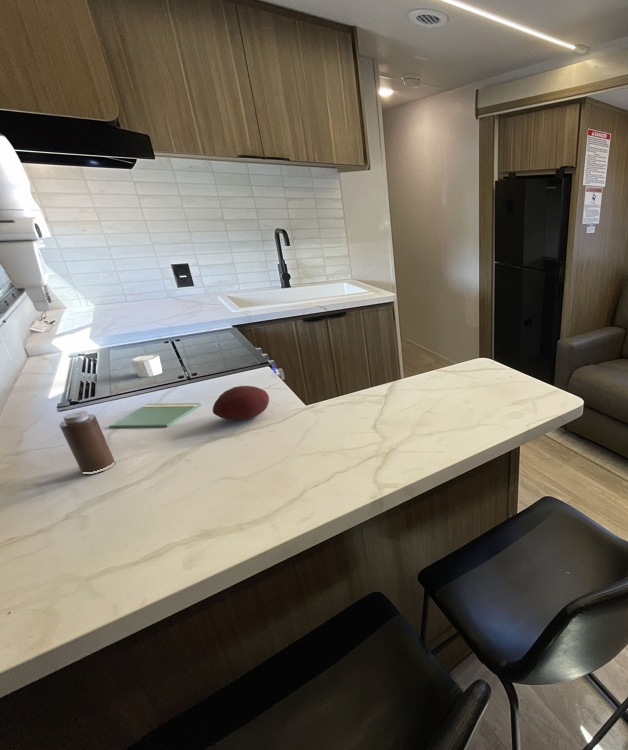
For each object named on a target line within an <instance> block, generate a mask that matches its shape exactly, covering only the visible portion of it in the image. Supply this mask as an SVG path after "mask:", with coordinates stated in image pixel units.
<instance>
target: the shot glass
mask: <svg viewBox="0 0 628 750" xmlns="http://www.w3.org/2000/svg"><path fill="white" fill-rule="evenodd" d="M130 362H131V364H132V367H133V369H134V370H135V372H136V374H137V377H139V378H148V377H155V376H158V375H160V374H162V373H163V369H162V364H161V363H162V362H161V359H160V355H159V354H146V355H140V356H136V357H134V358H131V359H130Z"/></svg>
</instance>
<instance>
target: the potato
mask: <svg viewBox="0 0 628 750" xmlns="http://www.w3.org/2000/svg"><path fill="white" fill-rule="evenodd" d="M269 403H270V396H269V394H268V393H267V391H266V390H264V389H262V388H259V387H257V386H253V385H239V386H233V387H231V388H229V389H227V390H225V391H223V393H221V394H220V395H219V396H218V398H217V399H216V401H215V402H214V403H213V406H212V414H213V415H215V416H217V417H219V418H220V419H225V420H227V421H245V420H249V419H252V418H255V417H257V416H259V415H261V414H262V413H263V412H265V410H266V409H267V408H268V406H269Z"/></svg>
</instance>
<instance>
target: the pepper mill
mask: <svg viewBox="0 0 628 750" xmlns="http://www.w3.org/2000/svg"><path fill="white" fill-rule="evenodd" d="M58 426H59V428H60V430H61V432H62V434H63V436H64V438H65V441H66V442H67V445H68V446H69V448H70V452H71V453H72V455H73V457H74V459H75V461H76V464H77V466H78V467H79V470H80V472H81V471H82V472H93V471H97V470H100V469H103V468H105V467H107V466H109V465H111V464H112V463H113V462H114V461H115V462H116V460H115V458H114V456H113V453H112V451H111V449H110V447H109V444H108V442H107V440H106V438H105V435H104V433H103V431H102V428H101V426H100V423H99V422H98V419H97V417H96V415H95V414H91V413H88V411H85V410H79V411H78V410H77V411H73V412H70V413H68V414H65V415H64V416H63V420H62V421H61V422H60V423H59V425H58ZM82 472H81V473H82Z"/></svg>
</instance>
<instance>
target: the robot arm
mask: <svg viewBox="0 0 628 750" xmlns="http://www.w3.org/2000/svg"><path fill="white" fill-rule="evenodd" d="M50 238H52V235H51V232H50V230H49V227H48V225H47V222H46V219H45V217H44V214H43V211H42V209H41V207H40V206H39V204H38V203H37V202H36V201H35V199H34V198H33V195H32V192H31V182H30V179H29V177H28V175H27V172H26V170H25V168H24V166H23V164H22V162H21V159H20V158H19V156H18V154H17V152H16V150H15V148H14V147H13V145H12V144H11V142H10V141H9V140H8V139H7V137H6V136H5V135H3V134H2V133H0V267H1V268H2V270H3V272H4V274H5V275H6V276H7V278H8V280H9V282H11V284H12V285H13V286H14V287H15V288H16V289H24V291H25V293H26V295H27V296H28V298H29V299H30V301H31V302H32V305H33V307H34V309H35V310H36V312H48V311H50V310H51V305H50V304H51V303H53V299H52V297H51V294H50V291H49V287H48V283H47V281H48V279H49V276H50V273H49V269H48V267H47V265H46V262H45V260H44V258H43V256H42V253H41V249H44V248H46V244H45V243H44V240H43V239H50Z"/></svg>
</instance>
